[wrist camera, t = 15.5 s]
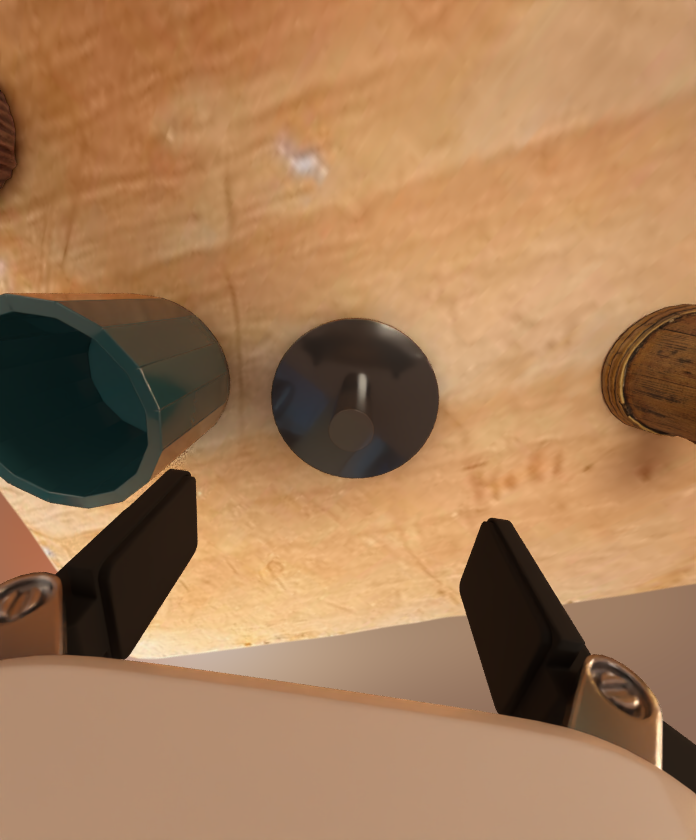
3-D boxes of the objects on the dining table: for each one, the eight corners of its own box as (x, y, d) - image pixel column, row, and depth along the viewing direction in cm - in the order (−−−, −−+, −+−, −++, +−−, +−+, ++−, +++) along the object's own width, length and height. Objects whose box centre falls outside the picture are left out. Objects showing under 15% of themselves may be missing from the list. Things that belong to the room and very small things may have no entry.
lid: (270, 459, 29) (245, 501, 23) (281, 304, 24) (254, 307, 18) (416, 481, 29) (428, 529, 23) (454, 331, 24) (482, 343, 18)
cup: (93, 429, 28) (-31, 490, 20) (73, 283, 24) (-95, 277, 15) (228, 450, 28) (166, 521, 20) (231, 308, 24) (154, 316, 15)
